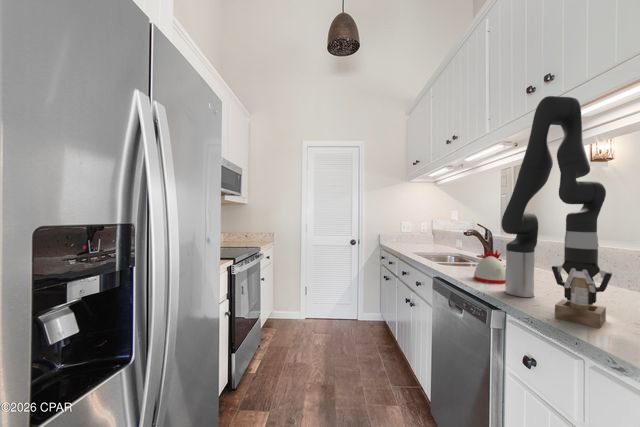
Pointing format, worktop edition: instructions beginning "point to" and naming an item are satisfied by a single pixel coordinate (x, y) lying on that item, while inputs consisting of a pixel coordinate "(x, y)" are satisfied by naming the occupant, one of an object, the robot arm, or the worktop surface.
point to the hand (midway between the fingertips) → (580, 301)
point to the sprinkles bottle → (579, 291)
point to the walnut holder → (581, 314)
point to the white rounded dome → (490, 269)
